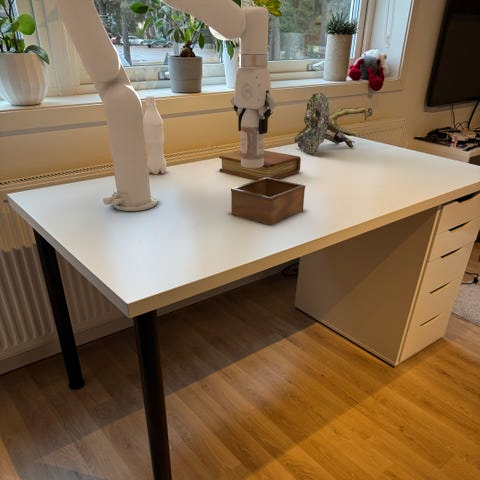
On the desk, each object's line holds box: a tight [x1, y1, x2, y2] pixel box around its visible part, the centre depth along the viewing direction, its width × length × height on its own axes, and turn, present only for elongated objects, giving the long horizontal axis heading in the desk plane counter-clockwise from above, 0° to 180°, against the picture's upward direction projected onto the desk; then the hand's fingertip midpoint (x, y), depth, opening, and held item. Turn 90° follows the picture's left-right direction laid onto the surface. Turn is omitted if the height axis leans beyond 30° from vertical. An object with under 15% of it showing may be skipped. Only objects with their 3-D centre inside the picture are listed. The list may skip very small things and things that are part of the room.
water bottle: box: [143, 96, 168, 175], centre depth 158 cm, size 7×7×25 cm
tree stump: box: [294, 92, 367, 155], centre depth 194 cm, size 23×26×35 cm
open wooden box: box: [230, 177, 306, 226], centre depth 125 cm, size 16×14×7 cm
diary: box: [218, 149, 302, 181], centre depth 164 cm, size 23×19×6 cm
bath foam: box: [240, 108, 266, 168], centre depth 131 cm, size 7×7×20 cm
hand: (252, 131), depth 131 cm, fingers closed on bath foam, 7 cm apart
